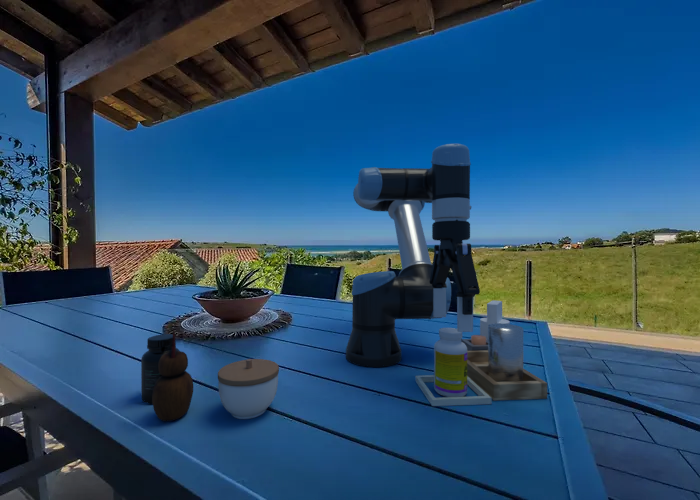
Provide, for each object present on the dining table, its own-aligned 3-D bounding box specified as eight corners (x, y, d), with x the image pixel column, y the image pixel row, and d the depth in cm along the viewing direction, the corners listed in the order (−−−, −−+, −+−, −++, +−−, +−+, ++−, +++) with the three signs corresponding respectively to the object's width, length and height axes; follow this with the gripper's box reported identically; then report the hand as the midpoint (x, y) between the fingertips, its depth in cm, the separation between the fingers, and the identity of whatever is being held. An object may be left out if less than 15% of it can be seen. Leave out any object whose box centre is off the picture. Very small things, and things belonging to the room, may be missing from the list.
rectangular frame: (432, 406, 61) (432, 399, 61) (415, 381, 72) (415, 375, 72) (491, 404, 62) (491, 397, 62) (465, 379, 73) (465, 374, 73)
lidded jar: (218, 432, 52) (218, 374, 52) (217, 403, 62) (217, 354, 62) (284, 418, 56) (284, 365, 56) (273, 393, 66) (273, 348, 66)
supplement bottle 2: (469, 400, 63) (470, 335, 63) (434, 397, 64) (435, 333, 64) (464, 386, 70) (464, 327, 70) (433, 383, 71) (433, 325, 71)
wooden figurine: (165, 407, 60) (165, 327, 60) (197, 405, 61) (197, 326, 61) (146, 427, 54) (145, 337, 54) (181, 425, 54) (181, 336, 54)
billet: (498, 392, 65) (498, 331, 65) (482, 379, 72) (482, 323, 72) (530, 391, 66) (530, 330, 66) (511, 378, 73) (511, 323, 73)
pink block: (475, 357, 87) (475, 338, 87) (468, 352, 90) (468, 335, 90) (488, 357, 87) (488, 338, 87) (482, 352, 91) (482, 334, 91)
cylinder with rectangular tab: (483, 333, 113) (483, 299, 113) (512, 337, 108) (512, 301, 108) (477, 339, 106) (477, 302, 106) (506, 344, 101) (507, 305, 101)
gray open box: (472, 361, 85) (472, 346, 85) (461, 353, 92) (461, 339, 92) (497, 361, 85) (497, 345, 85) (484, 352, 92) (484, 338, 92)
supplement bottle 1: (155, 388, 68) (155, 332, 68) (187, 389, 68) (187, 332, 68) (133, 404, 62) (132, 341, 62) (168, 404, 61) (168, 342, 61)
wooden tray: (493, 400, 63) (493, 384, 63) (452, 362, 84) (452, 351, 84) (547, 398, 64) (547, 383, 64) (493, 361, 85) (493, 350, 85)
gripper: (500, 214, 55) (500, 339, 55) (446, 226, 80) (446, 312, 79) (457, 213, 54) (457, 340, 54) (416, 226, 79) (416, 312, 79)
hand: (451, 323), depth 67 cm, fingers open, 13 cm apart
